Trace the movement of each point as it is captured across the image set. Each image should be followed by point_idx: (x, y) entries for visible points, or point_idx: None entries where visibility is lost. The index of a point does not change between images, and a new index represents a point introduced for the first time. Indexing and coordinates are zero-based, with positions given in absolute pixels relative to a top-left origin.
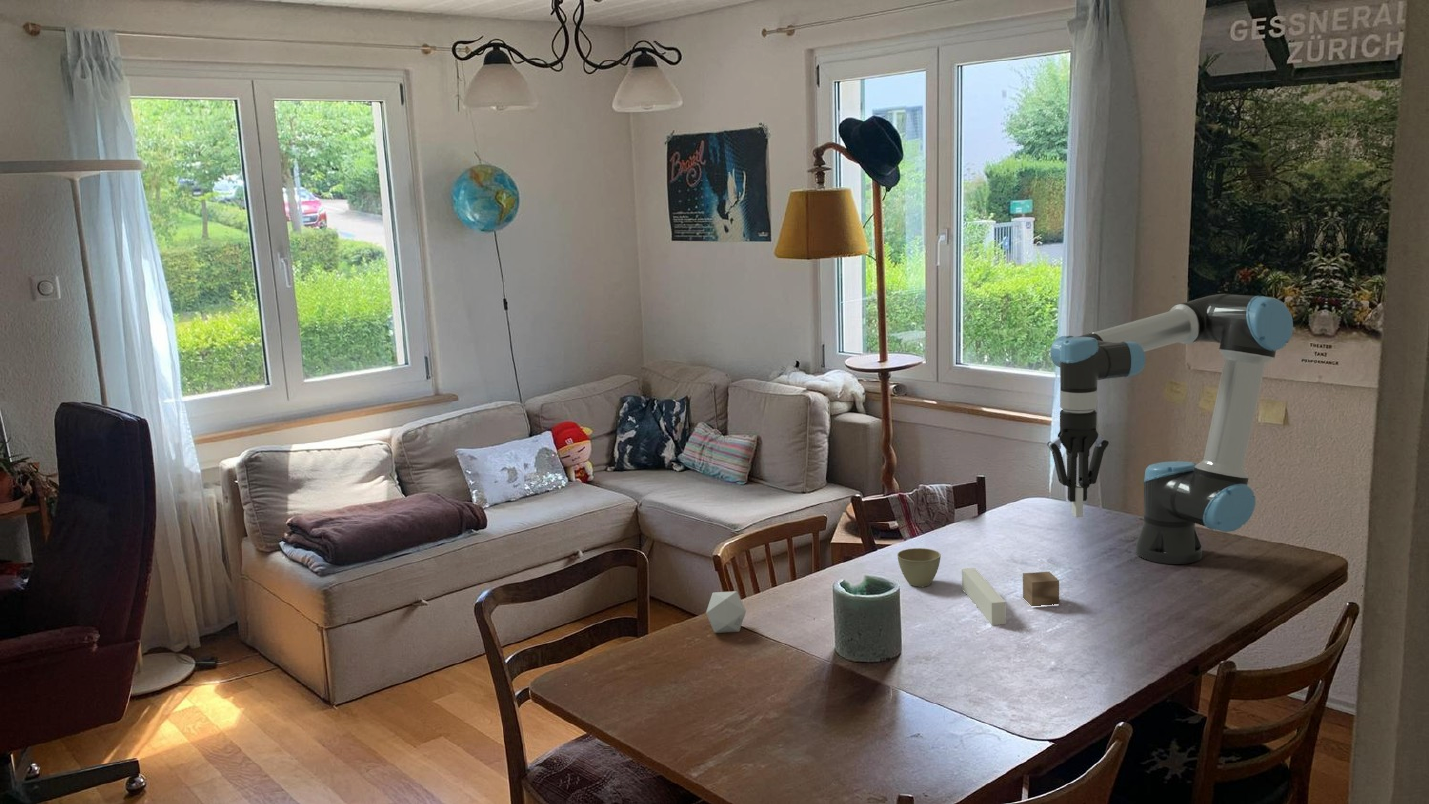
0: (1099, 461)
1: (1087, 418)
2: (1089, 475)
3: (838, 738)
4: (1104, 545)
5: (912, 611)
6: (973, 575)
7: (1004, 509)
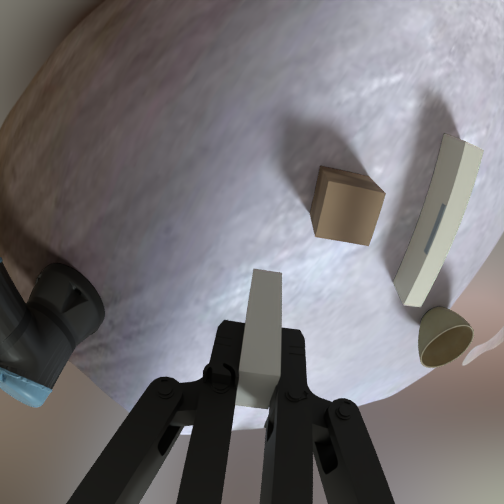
0: (92, 488)
1: None
2: (169, 431)
3: None
4: (133, 348)
5: (500, 236)
6: (428, 277)
7: None
